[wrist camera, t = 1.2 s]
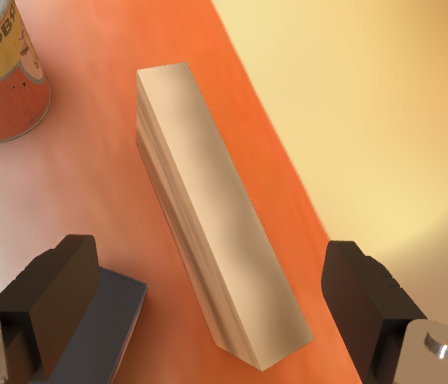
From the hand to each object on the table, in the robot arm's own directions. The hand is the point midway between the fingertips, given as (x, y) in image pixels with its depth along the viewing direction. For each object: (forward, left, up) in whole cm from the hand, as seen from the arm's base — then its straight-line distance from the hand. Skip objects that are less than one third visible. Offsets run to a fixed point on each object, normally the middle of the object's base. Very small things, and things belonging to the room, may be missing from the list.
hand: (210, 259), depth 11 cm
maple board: (+5, +4, -21) cm, 22 cm away
